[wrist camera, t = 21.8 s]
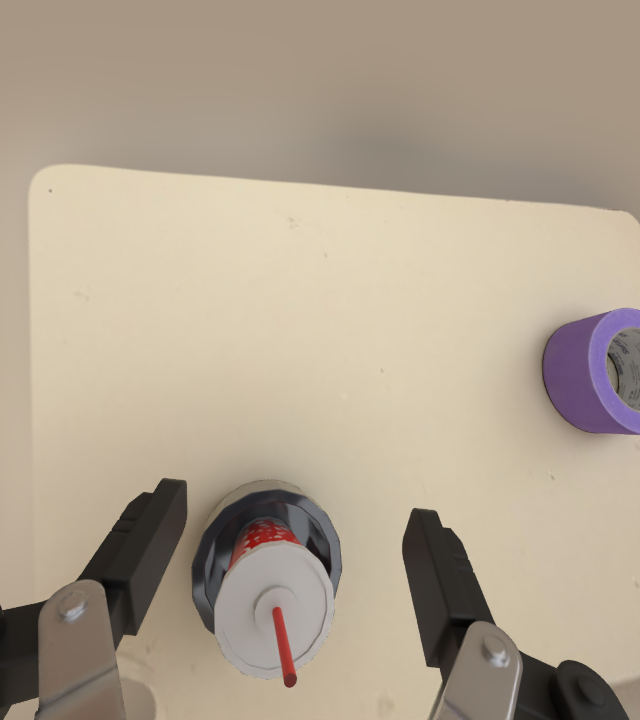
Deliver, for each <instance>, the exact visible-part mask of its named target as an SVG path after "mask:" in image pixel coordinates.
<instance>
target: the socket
mask: <svg viewBox="0 0 640 720" xmlns="http://www.w3.org/2000/svg"><path fill="white" fill-rule="evenodd" d="M265 516H271V517H274V518H278V519H280V520H282V521H283V522H284V523H285V524H286V525H287V526H288V527H289V528H290V529H291V531H292V532H293V533H294V535H295V536H296V537H297V539H298V540H299V541H300V542H301V544H302V545H303V546H304V547H305V548H307V549H308V550H309V551H310V552H311V553H312V554H313V555H314V556H316V557H317V558H318V559H319V560H320V562H321V563H322V564H323V566H324V568H325V570H326V572H327V575H328V577H329V579H330V581H331V583H332V585H333V595H334V599H335V595H336V592H337V588H338V584H339V580H340V576H341V572H342V561H341V550H340V540H339V537H338V535H337V533H336V531H335V529H334V527H333V525H332V523H331V521H330V519H329V517H328V515H327V514H326V513H325V511H324V510H323V509H322V508H321V507H320V506H319V505H318V504H317V503H316V502H315V501H314V500H313V499H311V498H310V497H309V496H308V495H307V494H306V493H305V492H303V491H302V490H301V489H300V488H299V487H297V486H294V485H292V484H289V483H287V482H283V481H278V480H260V481H255V482H251V483H248V484H245V485H243V486H241V487H239V488H237V489H236V490H234V491H233V492H231V493H230V494H229V495H227V496H226V497H225V498H224V499H223V500H222V501H221V502H220V503H219V504H218V505H217V507H216V508H215V509H214V511H213V512H212V514H211V515H210V516H209V517H208V519H207V522H206V525H205V528H204V530H203V533H202V536H201V539H200V542H199V545H198V548H197V551H196V553H195V556H194V559H193V562H192V567H191V569H192V598H193V602H194V604H195V606H196V608H197V610H198V612H199V615H200V617H201V619H202V621H203V623H204V625H205V627H206V628H207V629H208V630H209V631H210V632H211V633H213V634H214V635H215V615H214V607H215V603H216V599H217V596H218V593H219V590H220V588H221V585H222V582H223V579H224V576H225V575H226V573H227V572H228V568H229V563H230V559H231V555H232V550H233V546H234V543H235V541H236V538H237V535H238V533H239V532H240V531H241V530H242V528H243V527H244V526H245V525H246V524H247V523H249V522H250V521H252V520H254V519H256V518H257V517H265Z"/></svg>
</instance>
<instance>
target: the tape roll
mask: <svg viewBox="0 0 640 720" xmlns="http://www.w3.org/2000/svg"><path fill="white" fill-rule="evenodd" d="M607 353H609V354H610V355H611V357H612V359H613V360H614V362H615V365H616V367H617V370H618V375H619V391H618V394H617V393H616V391H615V389H614V387H613V385H612V383H611V381H610V378H609V375H608V370H607ZM543 372H544V381H545V384H546V388H547V391H548V394H549V396H550V398H551V400H552V402H553V404H554V406H555V407H556V409H557V410H558V411H559V413H560V414H561V415H562V416H563V417H564V418H565V419H566V420H567V421H568V422H570V423H571V424H572V425H574V426H575V427H577V428H579V429H581V430H584V431H587V432H591V433H609V434H628V435H640V310H638V309H634V308H622V309H617V310H613V311H610V312H606V313H603V314H599V315H596V316H592V317H589V318H585V319H582V320H578V321H575V322H571V323H568V324H566V325H564V326H562V327H561V328H559V329H558V330H557V331H556V332H555V333H554V334H553V335H552V337H551V339H550V340H549V342H548V344H547V347H546V350H545V354H544V360H543Z"/></svg>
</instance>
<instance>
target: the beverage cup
mask: <svg viewBox="0 0 640 720" xmlns="http://www.w3.org/2000/svg"><path fill="white" fill-rule="evenodd" d="M334 612H335V610H334V595H333V585H332V583H331V581H330V579H329V577H328V575H327V572H326V570H325V568H324V566H323V564H322V563H321V562H320V560H319V559H318V558H317V557H316V556H314V555H313V554H312V553H311V552H310V551H309V550H308V549H307V548H305V547H304V546H303V545H302V544H301V542H300V541H299V540H298V539H297V537H296V536H295V535H294V533H293V532H292V531H291V529H290V528H289V527H288V526H287V525H286V524H285V523H284V522H283V521H282V520H280V519H278V518H274V517H271V516H265V517H257V518H256V519H254V520H252V521H250V522H249V523H247V524H246V525H245V526H244V527H243V528H242V530H241V531H240V532H239V533H238V535H237V538H236V541H235V543H234V546H233V550H232V555H231V559H230V563H229V568H228V572H227V573H226V575H225V576H224V579H223V582H222V585H221V588H220V590H219V593H218V596H217V599H216V603H215V607H214V615H215V637H216V639H217V641H218V644H219V646H220V648H221V651H222V653H223V655H224V657H225V659H226V660H227V661H228V662H229V663H231V664H232V665H233V666H234V667H235V668H236V669H238V670H239V671H240V672H241V673H242V674H244V675H248V676H252V677H257V678H261V679H265V680H269V679H273V678H277V677H281V676H283V679H284V684H285V686H286V687H289V688H290V687H293V686H294V685H295V684H296V681H297V677H296V672H295V671H296V670H298V669H299V668H301V667H302V666H303V665H305V664H306V663H307V662H309V661H310V660H312V659H313V657H314V656H315V654H316V653H317V652H318V650H319V649H320V647H321V646H322V644H323V643H324V641H325V640H326V638H327V637H328V633H329V630H330V626H331V622H332V619H333V615H334Z"/></svg>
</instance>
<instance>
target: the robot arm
mask: <svg viewBox="0 0 640 720" xmlns="http://www.w3.org/2000/svg"><path fill="white" fill-rule="evenodd" d="M186 520H187V483H186V481H185V480H177V479H168V478H163V479H162V480H161V481H160V483H159V484H158V486H157V487H156V489H155V491H154V492H153V493H147V492H143V493H142V494H140V495H139V496H138V497H137V498H135V499H134V500H133V501H131V502H130V503H129V504H128V506H127V507H126V509H125V510H124V512H123V513H122V515H121V516H120V519H119V520H118V521H117V522H116V523H115V525H114V526H113V528H112V531H110V532H109V534H108V535H107V537H106V538H105V540H104V541H103V543H102V544H101V546H100V547H99V549H98V550H97V551H96V553H95V554H94V556H93V557H92V559H91V560H90V562H89V563H88V565H87V566H86V568H85V569H84V571H83V572H82V574H81V575H80V576H79V578H78V579H77V580H76V581H75V582H73V583H70V584H68V585H66V586H64V587H63V588H61V589H60V590H58V591H57V592H56V593H54V594H53V595H52V596H51V597H50V598H49V599H48V600H46V601H43V602H39V603H35V604H30V605H26V606H21V607H16V608H12V609H6V610H2V608H1V606H0V720H3V719H4V717H5V716H6V714H7V712H8V711H9V709H10V707H11V705H13V704H16V703H20V702H23V701H27V700H30V699H34V698H37V697H39V708H38V711H36V713H35V718H34V720H126V714H125V708H124V702H123V696H122V691H121V684H120V678H119V672H118V666H117V661H116V655H115V652H116V650H117V648H118V645H119V643H120V641H121V639H122V637H123V635H134V636H136V635H137V633H138V630H139V628H140V626H141V624H142V622H143V619H144V617H145V615H146V613H147V610H148V608H149V606H150V604H151V602H152V599H153V597H154V595H155V593H156V590H157V588H158V586H159V584H160V582H161V579H162V577H163V575H164V573H165V571H166V568H167V566H168V564H169V562H170V559H171V557H172V555H173V553H174V551H175V548H176V546H177V544H178V542H179V540H180V537H181V535H182V533H183V530H184V527H185V524H186ZM402 554H403V560H404V564H405V569H406V573H407V578H408V583H409V587H410V592H411V596H412V601H413V605H414V610H415V615H416V619H417V624H418V628H419V633H420V637H421V642H422V646H423V651H424V656H425V660H426V665H427V667H435V668H440V672H441V676H442V680H443V681H442V683H441V685H440V688H439V691H438V693H437V696H436V699H435V701H434V704H433V707H432V709H431V712H430V715H429V717H428V720H629V718H628V716H627V714H626V712H625V711H624V709H623V707H622V705H621V703H620V702H619V700H618V698H617V696H616V695H615V693H614V692H613V690H612V689H611V688H610V686H609V685H608V684H607V683H606V682H605V681H604V680H603V679H602V678H601V677H600V676H599V675H598V674H597V673H596V672H595V671H593V670H592V669H591V668H589V667H588V666H586V665H584V664H582V663H580V662H577V661H573V660H566V661H563V662H561V663H560V665H559V666H558V667H557V668H555V667H553V666H550V665H548V664H546V663H544V662H542V661H539V660H537V659H535V658H533V657H530V656H528V655H526V654H524V653H523V652H521V651H520V650H518V648H517V647H516V645H515V644H514V642H513V641H512V639H511V638H510V637H509V636H508V635H507V634H506V633H505V632H504V631H503V630H501V629H500V628H499V627H497V626H496V624H495V622H494V620H493V617H492V615H491V612H490V610H489V607H488V605H487V603H486V600H485V598H484V595H483V593H482V590H481V588H480V585H479V583H478V580H477V578H476V576H475V573H473V568H472V566H471V563H470V561H469V560H468V556H467V554H466V551H465V549H464V546H463V544H462V542H461V540H460V539H459V538H458V537H457V535H456V534H455V533H454V532H453V531H452V529H451V528H444V527H442V524H441V521H440V519H439V516H438V514H437V512H436V511H435V510H427V509H418V508H413V510H412V512H411V515H410V518H409V521H408V524H407V528H406V531H405V534H404V537H403V543H402Z"/></svg>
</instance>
